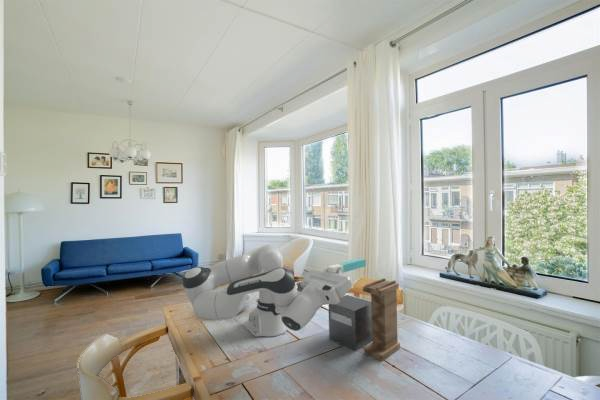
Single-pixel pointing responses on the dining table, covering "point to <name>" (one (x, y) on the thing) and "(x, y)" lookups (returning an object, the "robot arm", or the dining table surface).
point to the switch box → (351, 322)
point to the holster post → (383, 318)
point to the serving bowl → (246, 302)
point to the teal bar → (347, 266)
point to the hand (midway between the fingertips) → (337, 267)
